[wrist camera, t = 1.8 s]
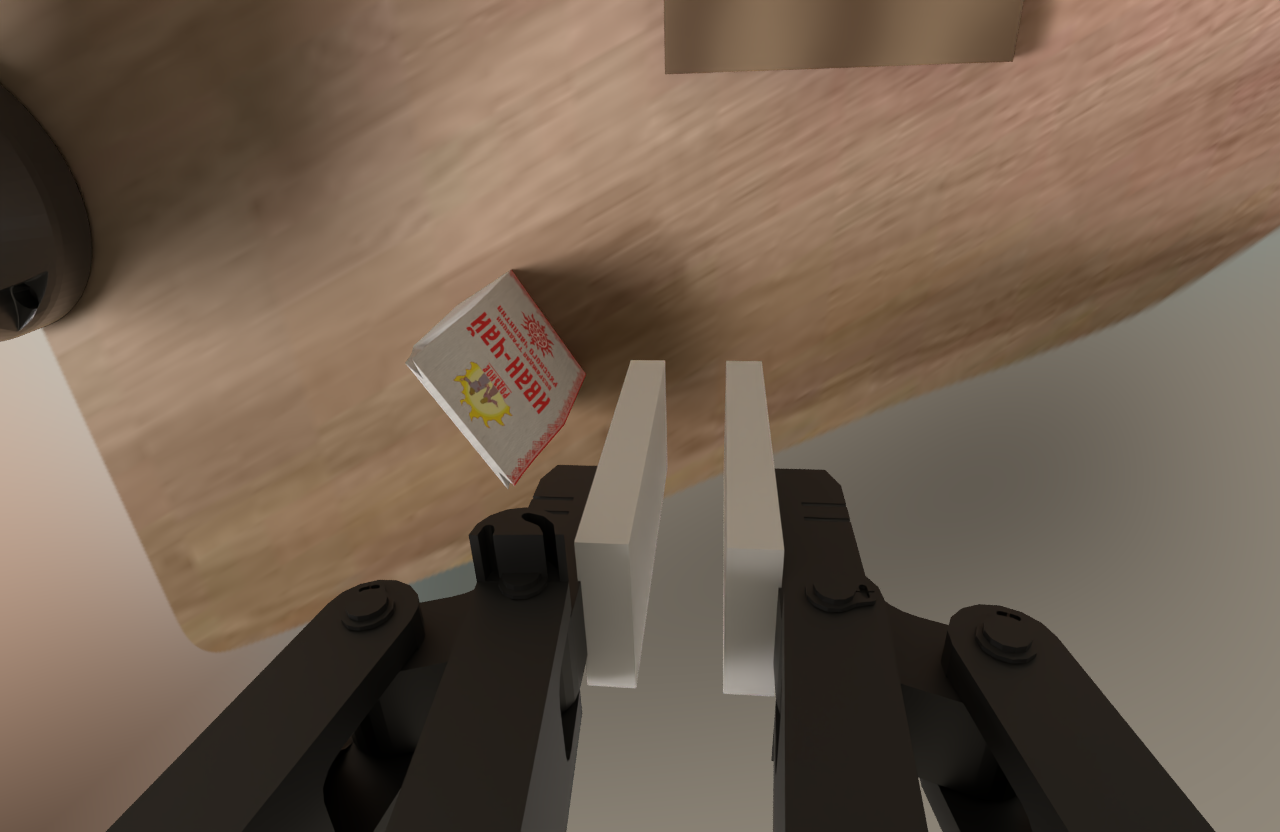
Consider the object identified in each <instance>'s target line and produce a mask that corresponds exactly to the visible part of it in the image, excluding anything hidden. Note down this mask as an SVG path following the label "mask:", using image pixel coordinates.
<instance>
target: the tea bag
mask: <svg viewBox="0 0 1280 832" xmlns="http://www.w3.org/2000/svg"><path fill="white" fill-rule="evenodd" d="M405 363H406V365H407V366H408V367H409V368H410V369H411V371H412V372H413V373H414V374H415V376H416V377H417V378H418V379H419V381H420V382H421V383H422V384H423V385H424V387H425V388H426V389H427V390H428V392H429V393H430V394H431V395H432V396H433V398H434V399H435V400H436V401H437V403H438V404H439V405H440V406H441V408H442V409H443V410H444V411H445V412H446V414H447V415H448V416H449V417H450V419H451V420H452V421H453V422H454V423H455V425H456V426H457V427H458V428H459V430H460V431H461V432H462V433H463V435H464V436H465V437H466V438H467V439H468V441H469V442H470V443H471V444H472V446H473V447H474V448H475V449H476V450H477V452H478V453H479V454H480V455H481V457H482V458H483V459H484V460H485V462H486V463H487V464H488V465H489V466H490V468H491V469H492V470H493V471H494V473H495V474H496V475H497V476H498V477H499V479H500V480H501V481H502V482H503V484H504V485H505V486H506V487H507V489H508V488H509V483H510V482H511V483H512V484H513V485H514V486H515V485H516V483H517V482H518V480H519V479H520V477H521V476H522V474H523V473H524V472H525V471H526V469H527V468H528V467H529V466H530V464H531V463H532V462H533V461H534V459H535V458H536V457H537V456H538V455H539V454H540V452H541V451H542V450H543V449H544V448H545V447H546V445H547V444H548V443H549V442H550V441H551V440H552V438H553V437H554V436H555V435H556V434H557V433H558V431H559V430H560V429H561V428H562V427H563V426H564V424H565V422H566V420H567V417H568V415H569V413H570V410H571V408H572V406H573V404H574V401H575V399H576V397H577V394H578V392H579V390H580V387H581V385H582V383H583V381H584V378H585V376H586V374H585V372H584V371H583V369H582V368H581V367H580V365H579V364H578V362H577V361H576V360H575V358H574V357H573V355H572V354H571V353H570V351H569V350H568V348H567V347H566V346H565V344H564V343H563V341H562V340H561V339H560V337H559V336H558V334H557V333H556V332H555V330H554V329H553V327H552V326H551V325H550V323H549V322H548V320H547V319H546V318H545V316H544V315H543V313H542V312H541V311H540V309H539V308H538V306H537V305H536V304H535V302H534V301H533V299H532V298H531V297H530V295H529V294H528V292H527V291H526V289H525V288H524V287H523V285H522V284H521V282H520V281H519V280H518V278H517V277H516V275H515V274H514V273H513V271H512V270H510V271H508V272H507V273H505V274H504V275H502V276H501V277H499V278H498V279H496V280H495V281H493V282H492V283H490V284H489V285H487V286H486V287H484V288H483V289H481V290H480V291H478V292H477V293H475V294H474V295H472V296H471V297H469V298H468V299H466V300H464V301H463V302H461V303H460V304H458V305H457V306H456V307H455V308H454V309H453V310H452V311H451V312H449V313H448V314H447V315H446V316H445V317H444V318H443V319H442V320H441V321H440V322H439V323H438V324H437V325H436V326H434V327H433V328H432V329H431V330H430V331H429V332H428V333H427V334H426V335H425V336H424V337H423V338H422V339H420V340H419V341H418V342H417V343H416V344H415V345H414V346H413V350H412V354H411V356H410V357H409V359H408V360H407V361H406V362H405Z"/></svg>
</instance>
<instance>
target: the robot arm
mask: <svg viewBox="0 0 1280 832" xmlns="http://www.w3.org/2000/svg"><path fill="white" fill-rule="evenodd" d="M91 258H92V244H91V234H90V227H89V222H88V217H87V213H86V210H85V206H84V203H83V200H82V197H81V194H80V192H79V190H78V187H77V185H76V182H75V180H74V178H73V176H72V174H71V172H70V170H69V168H68V166H67V164H66V163H65V161H64V159H63V157H62V156H61V154H60V153H59V151H58V149H57V148H56V146H55V145H54V143H53V142H52V140H51V139H50V137H49V136H48V135H47V133H46V132H45V131H44V130H43V128H42V127H41V126H40V124H39V123H38V122H37V121H36V120H35V118H34V117H33V116H32V115H31V114H30V113H29V112H28V111H27V110H26V108H25V107H24V106H23V105H22V104H21V103H20V102H19V101H18V100H17V99H16V98H15V97H14V96H13V95H12V94H10V93H9V92H8V91H7V90H6V89H5V88H4V87H2V86H1V85H0V342H1V341H5V340H10V339H13V338H16V337H19V336H22V335H24V334H27V333H30V332H32V331H35V330H37V329H40V328H42V327H45V326H47V325H49V324H52V323H54V322H55V321H57V320H59V319H60V318H62V317H63V316H64V315H66V314H67V313H68V312H69V311H70V310H71V309H72V308H73V307H74V305H75V304H76V303H77V301H78V300H79V298H80V297H81V295H82V293H83V291H84V289H85V286H86V284H87V281H88V277H89V273H90V268H91ZM666 473H667V426H666V376H665V360H631V361H630V364H629V368H628V371H627V374H626V377H625V380H624V384H623V387H622V390H621V393H620V396H619V400H618V403H617V406H616V409H615V413H614V416H613V419H612V422H611V425H610V429H609V432H608V435H607V438H606V441H605V445H604V448H603V451H602V454H601V458H600V461H599V464H598V466H578V465H557V466H556V467H555V468H554V469H552V470H551V471H550V472H549V473H548V474H546V475H545V476H544V477H543V478H542V479H541V480H540V482H539V484H538V486H537V489H536V491H535V493H534V496H533V499H532V500H531V502H530V505H529V507H528V508H517V509H508V510H505V511H502V512H499V513H496V514H493V515H490V516H489V517H487V518H486V519H484V520H483V521H481V522H480V523H478V524H477V525H476V526H475V527H474V529H473V530H472V531H471V533H470V534H469V539H470V545H471V551H472V556H473V562H474V567H475V573H476V579H477V584H476V586H475V589H474V590H472V591H470V592H467V593H465V594H461V595H457V596H453V597H449V598H443V599H438V600H433V601H427V602H422V603H419V598H418V594H417V593H416V592H415V591H414V590H413V588H412V587H411V586H410V585H408V584H405V583H402V582H399V581H397V580H377V581H372V582H368V583H363V584H360V585H357V586H355V587H353V588H351V589H349V590H346V591H344V592H342V593H341V594H340V595H338V596H337V597H336V598H335V599H333V600H332V601H331V602H329V603H328V604H327V605H326V606H325V607H324V608H323V609H322V610H321V611H320V612H319V613H318V614H317V615H316V616H315V617H314V619H313V620H312V621H311V622H310V623H309V624H308V625H307V626H306V627H305V628H304V629H303V630H302V631H301V632H300V633H299V634H298V635H297V636H296V637H295V638H294V639H293V640H292V641H291V642H290V643H289V644H288V646H286V647H285V648H284V649H283V650H282V652H280V653H279V654H278V656H276V658H275V659H274V660H273V661H272V662H271V663H270V664H269V665H268V666H267V667H266V668H265V669H264V670H263V671H262V672H261V673H260V674H259V675H258V676H257V677H256V678H255V679H254V680H253V681H252V682H251V683H250V684H249V685H248V686H247V687H246V688H245V689H244V690H243V691H242V692H241V693H240V694H239V695H238V697H237V698H236V699H235V700H234V701H233V702H232V703H231V704H230V705H229V706H228V707H227V708H226V709H225V710H224V711H223V712H222V713H221V714H220V715H219V716H218V717H217V718H216V719H215V720H214V721H213V722H212V723H211V724H210V725H209V726H208V727H207V728H206V729H205V730H204V731H203V732H202V733H201V734H200V735H199V737H198V738H197V739H196V740H195V741H194V742H193V743H192V744H191V745H190V746H189V747H188V748H187V749H186V750H185V751H184V752H183V753H182V754H181V755H180V756H179V757H178V758H177V759H176V760H175V761H174V762H173V763H172V764H171V765H170V766H169V767H168V768H167V769H166V770H165V771H164V772H163V774H161V776H160V777H159V778H158V779H157V780H156V781H155V782H154V783H153V784H152V785H151V786H150V787H149V788H148V789H147V790H146V791H145V792H144V793H143V794H142V795H141V796H140V797H139V798H138V799H137V800H136V801H135V802H134V804H132V805H131V806H130V807H129V808H128V809H127V810H126V811H125V813H123V814H122V816H121V817H120V818H119V819H118V820H117V821H116V822H115V823H114V824H113V825H112V826H111V827H110V828H109V829H108V830H107V831H106V832H566V830H567V822H568V815H569V807H570V799H571V792H572V785H573V777H574V770H575V763H576V755H577V747H578V740H579V732H580V725H581V718H582V706H581V696H580V686H581V681H582V677H583V673H584V668H585V664H586V673H587V683H588V685H593V686H609V687H626V688H636V686H637V679H638V672H639V665H640V658H641V651H642V643H643V636H644V628H645V622H646V614H647V608H648V601H649V594H650V587H651V580H652V573H653V565H654V558H655V551H656V544H657V537H658V529H659V523H660V516H661V509H662V502H663V495H664V488H665V481H666ZM723 581H724V583H723V595H724V596H723V612H724V613H723V617H724V618H723V693H725V694H741V695H757V696H774V687H775V692H776V706H775V721H774V734H773V747H772V761H774V788H773V794H774V795H773V832H928V828H927V823H926V817H925V812H924V807H923V802H922V796H921V791H920V786H919V780H918V777H919V778H920V781H921V785H922V788H923V790H924V792H925V794H926V797H927V799H928V801H929V803H930V805H931V807H932V810H933V812H934V814H935V816H936V818H937V821H938V823H939V825H940V827H941V829H942V831H943V832H1215V831H1214V829H1213V828H1212V827H1211V826H1210V825H1209V823H1208V822H1207V821H1206V820H1205V818H1204V817H1203V816H1202V815H1201V813H1200V812H1199V811H1198V810H1197V809H1196V807H1195V806H1194V805H1193V804H1192V802H1191V801H1190V800H1189V799H1188V798H1187V796H1186V795H1185V794H1184V792H1183V791H1182V790H1181V789H1180V788H1179V786H1178V785H1177V784H1176V783H1175V781H1174V780H1173V779H1172V778H1171V777H1170V776H1169V774H1168V773H1167V772H1166V770H1165V769H1164V768H1163V767H1162V765H1161V764H1160V763H1159V762H1158V761H1157V759H1156V758H1155V757H1154V756H1153V754H1152V753H1151V752H1150V751H1149V749H1148V748H1147V747H1146V746H1145V745H1144V743H1143V742H1142V741H1141V740H1140V738H1139V737H1138V736H1137V735H1136V733H1135V732H1134V731H1133V730H1132V729H1131V727H1130V726H1129V725H1128V724H1127V722H1126V721H1125V720H1124V719H1123V718H1122V716H1121V715H1120V714H1119V713H1118V711H1117V710H1116V709H1115V708H1114V706H1113V705H1112V704H1111V703H1110V701H1109V700H1108V699H1107V698H1106V696H1105V695H1104V694H1103V693H1102V692H1101V690H1100V689H1099V688H1098V687H1097V685H1096V684H1095V683H1094V682H1093V680H1092V679H1091V678H1090V677H1089V676H1088V674H1087V673H1086V672H1085V671H1084V669H1083V668H1082V667H1081V666H1080V665H1079V663H1078V662H1077V661H1076V660H1075V659H1074V657H1073V656H1072V655H1071V653H1070V652H1069V651H1068V650H1067V648H1066V647H1065V646H1064V645H1063V644H1062V642H1061V641H1060V640H1059V639H1058V637H1057V636H1055V635H1054V634H1053V633H1052V632H1051V631H1050V630H1049V629H1048V628H1047V627H1046V626H1044V625H1043V624H1042V623H1041V622H1039V621H1037V620H1035V619H1033V618H1031V617H1030V616H1028V615H1026V614H1024V613H1022V612H1019V611H1016V610H1013V609H1009V608H1006V607H1003V606H997V605H980V604H979V605H974V606H971V607H966V608H962V609H961V610H959V611H958V612H957V613H956V614H954V615H953V616H952V617H951V619H950V623H949V625H946V624H942V623H939V622H935V621H931V620H928V619H924V618H920V617H917V616H914V615H911V614H908V613H906V612H903V611H901V610H899V609H897V608H895V607H893V606H891V605H890V604H888V603H887V602H885V600H884V598H883V596H882V594H881V592H880V590H879V588H878V586H876V585H875V584H874V583H873V582H872V581H871V580H870V579H868V578H867V577H866V576H865V573H864V569H863V566H862V562H861V558H860V555H859V551H858V547H857V543H856V540H855V536H854V533H853V529H852V525H851V522H850V518H849V514H848V510H847V507H846V503H845V499H844V496H843V492H842V488H841V485H840V484H839V483H837V481H836V480H835V479H833V477H831V476H830V474H828V472H827V471H825V470H809V469H808V470H806V469H775V468H774V460H773V452H772V443H771V435H770V427H769V418H768V410H767V402H766V393H765V385H764V376H763V368H762V361H726V395H725V441H724V580H723Z"/></svg>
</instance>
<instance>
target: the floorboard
mask: <svg viewBox="0 0 1280 832" xmlns="http://www.w3.org/2000/svg"><path fill="white" fill-rule="evenodd" d="M1023 2H1024V0H664V32H665V74H683V73H710V72H738V71H765V70H793V69H820V68H848V67H876V66H903V65H931V64H958V63H986V62H1013V57H1014V52H1015V46H1016V41H1017V35H1018V30H1019V24H1020V19H1021V13H1022V8H1023Z"/></svg>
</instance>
